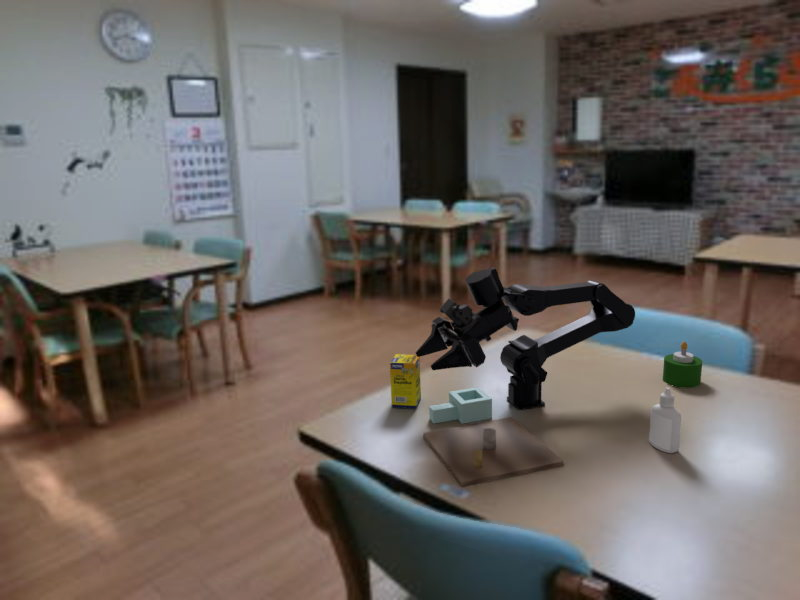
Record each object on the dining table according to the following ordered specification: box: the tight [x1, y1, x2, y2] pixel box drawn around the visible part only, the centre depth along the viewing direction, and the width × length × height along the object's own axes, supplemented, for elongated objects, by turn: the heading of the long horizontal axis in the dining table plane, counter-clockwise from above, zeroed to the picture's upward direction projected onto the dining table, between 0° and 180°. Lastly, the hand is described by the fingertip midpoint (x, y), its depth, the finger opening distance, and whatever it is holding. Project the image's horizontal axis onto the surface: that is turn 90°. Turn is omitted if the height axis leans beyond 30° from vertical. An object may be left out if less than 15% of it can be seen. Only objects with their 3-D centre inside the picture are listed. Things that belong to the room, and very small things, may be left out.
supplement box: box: [389, 353, 422, 410], centre depth 140 cm, size 6×6×11 cm
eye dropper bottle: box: [648, 387, 682, 454], centre depth 115 cm, size 4×6×12 cm
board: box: [422, 416, 565, 487], centre depth 118 cm, size 20×20×4 cm
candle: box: [662, 341, 703, 389], centre depth 146 cm, size 8×8×10 cm
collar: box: [428, 386, 493, 425], centre depth 133 cm, size 12×7×4 cm, turn 107°
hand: (423, 361), depth 128 cm, fingers open, 9 cm apart
